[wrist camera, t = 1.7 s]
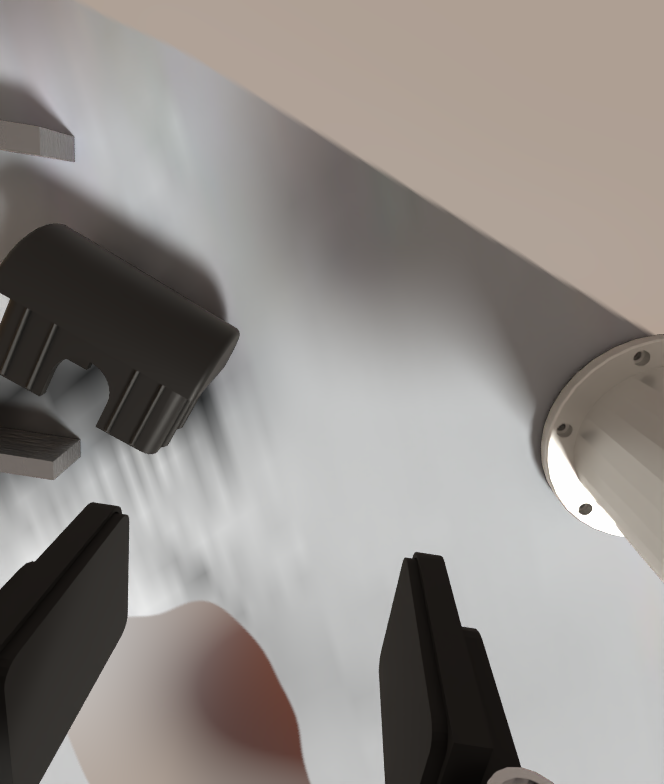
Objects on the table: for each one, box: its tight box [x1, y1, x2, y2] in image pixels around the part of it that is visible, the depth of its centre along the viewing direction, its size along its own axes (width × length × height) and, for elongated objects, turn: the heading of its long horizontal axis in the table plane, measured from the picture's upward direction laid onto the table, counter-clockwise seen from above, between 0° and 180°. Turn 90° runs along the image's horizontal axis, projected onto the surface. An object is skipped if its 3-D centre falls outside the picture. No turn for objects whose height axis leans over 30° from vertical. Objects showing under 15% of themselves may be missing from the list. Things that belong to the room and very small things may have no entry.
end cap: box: [0, 224, 240, 454], centre depth 25 cm, size 10×7×7 cm
